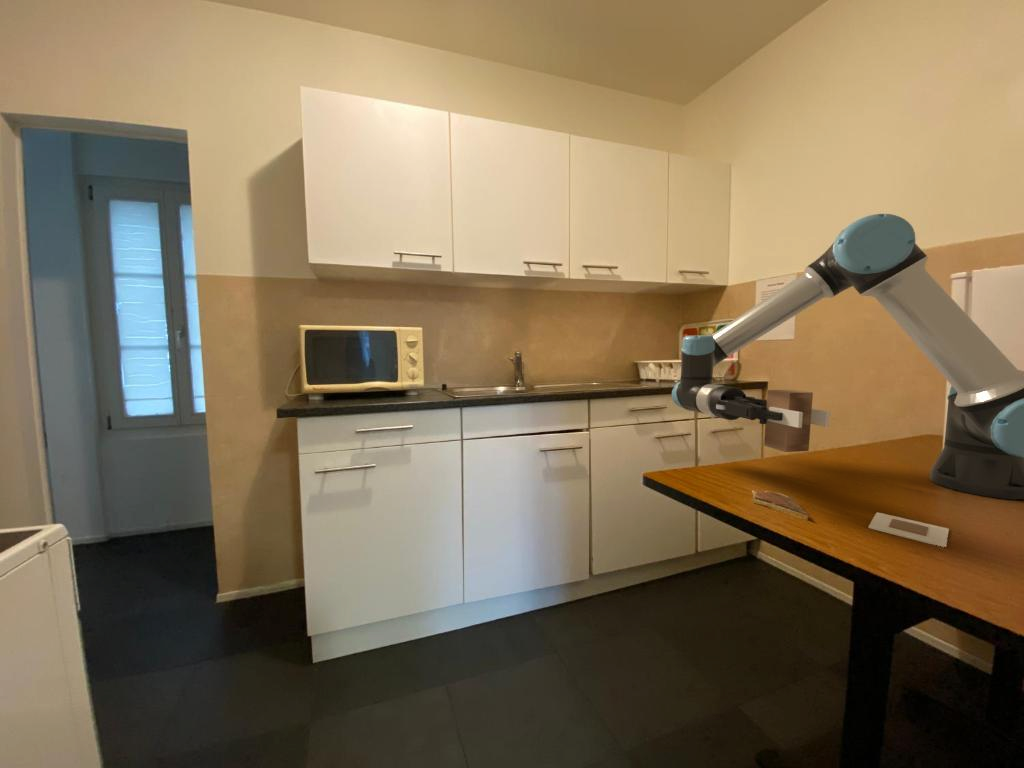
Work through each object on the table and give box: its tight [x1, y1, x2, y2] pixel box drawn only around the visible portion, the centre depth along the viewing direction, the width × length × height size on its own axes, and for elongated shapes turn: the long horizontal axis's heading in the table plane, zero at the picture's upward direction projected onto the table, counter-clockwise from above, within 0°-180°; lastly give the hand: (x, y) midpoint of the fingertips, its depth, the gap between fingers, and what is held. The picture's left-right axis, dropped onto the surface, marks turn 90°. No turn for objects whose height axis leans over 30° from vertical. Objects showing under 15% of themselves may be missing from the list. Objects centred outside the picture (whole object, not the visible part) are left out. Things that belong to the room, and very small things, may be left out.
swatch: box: [867, 511, 950, 548], centre depth 68 cm, size 9×9×1 cm
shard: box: [751, 489, 810, 521], centre depth 77 cm, size 11×8×2 cm
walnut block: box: [763, 389, 814, 453], centre depth 76 cm, size 5×5×11 cm
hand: (813, 419), depth 71 cm, fingers closed on walnut block, 5 cm apart
